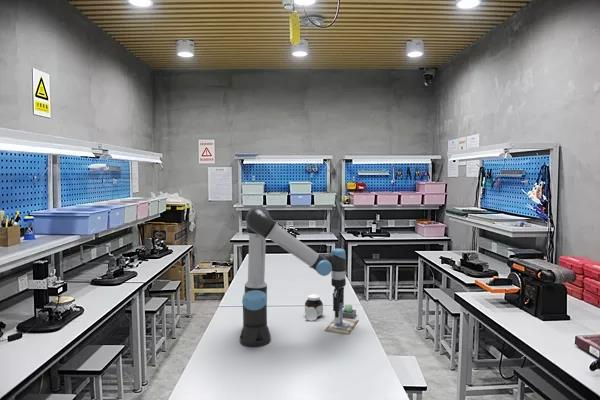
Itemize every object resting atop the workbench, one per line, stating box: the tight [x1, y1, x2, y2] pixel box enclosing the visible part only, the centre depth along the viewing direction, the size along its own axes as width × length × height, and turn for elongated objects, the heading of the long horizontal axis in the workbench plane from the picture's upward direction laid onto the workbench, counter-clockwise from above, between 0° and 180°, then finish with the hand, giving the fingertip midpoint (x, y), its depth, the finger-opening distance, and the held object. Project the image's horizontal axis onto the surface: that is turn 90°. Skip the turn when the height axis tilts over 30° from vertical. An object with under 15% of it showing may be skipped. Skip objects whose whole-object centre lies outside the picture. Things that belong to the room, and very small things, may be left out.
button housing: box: [343, 308, 357, 319], centre depth 230 cm, size 7×7×3 cm
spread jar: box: [304, 293, 324, 322], centre depth 229 cm, size 12×11×12 cm
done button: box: [344, 304, 353, 313], centre depth 230 cm, size 4×4×4 cm
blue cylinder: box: [335, 302, 344, 325], centre depth 216 cm, size 4×4×11 cm
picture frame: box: [324, 318, 360, 336], centre depth 217 cm, size 20×13×1 cm, turn 158°
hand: (338, 321), depth 216 cm, fingers closed on blue cylinder, 4 cm apart
